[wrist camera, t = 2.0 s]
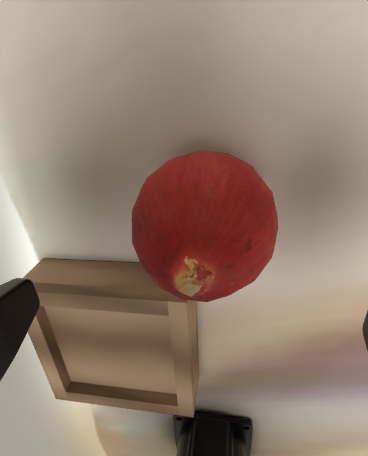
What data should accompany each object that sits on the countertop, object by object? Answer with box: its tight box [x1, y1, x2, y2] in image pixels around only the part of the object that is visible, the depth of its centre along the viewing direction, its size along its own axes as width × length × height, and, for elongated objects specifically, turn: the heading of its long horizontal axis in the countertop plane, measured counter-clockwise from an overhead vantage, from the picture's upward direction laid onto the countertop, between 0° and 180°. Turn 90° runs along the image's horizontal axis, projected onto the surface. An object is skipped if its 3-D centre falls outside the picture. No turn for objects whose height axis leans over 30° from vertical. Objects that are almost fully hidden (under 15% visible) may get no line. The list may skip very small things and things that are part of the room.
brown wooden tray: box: [24, 258, 199, 417], centre depth 19 cm, size 10×10×3 cm
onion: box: [132, 151, 278, 302], centre depth 12 cm, size 6×6×8 cm
